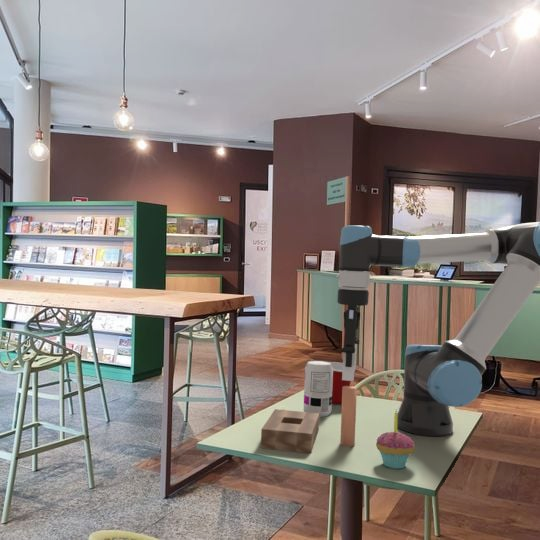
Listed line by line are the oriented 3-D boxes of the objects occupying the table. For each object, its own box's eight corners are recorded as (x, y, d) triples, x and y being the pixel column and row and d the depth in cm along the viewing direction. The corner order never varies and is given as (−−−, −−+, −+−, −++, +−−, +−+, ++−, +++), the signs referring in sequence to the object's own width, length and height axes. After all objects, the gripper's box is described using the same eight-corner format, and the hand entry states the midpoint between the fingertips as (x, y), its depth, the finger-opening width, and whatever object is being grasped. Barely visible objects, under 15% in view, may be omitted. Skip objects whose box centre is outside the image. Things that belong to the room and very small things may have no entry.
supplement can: (297, 413, 160) (299, 362, 159) (314, 408, 166) (316, 359, 166) (320, 419, 154) (322, 366, 154) (336, 413, 161) (338, 363, 160)
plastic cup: (341, 408, 166) (342, 369, 166) (313, 401, 174) (315, 364, 174) (361, 403, 174) (362, 365, 174) (334, 396, 182) (335, 360, 181)
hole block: (318, 430, 144) (319, 413, 144) (311, 453, 126) (311, 433, 126) (274, 425, 146) (274, 409, 146) (260, 447, 129) (261, 428, 128)
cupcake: (373, 456, 126) (375, 405, 125) (411, 459, 125) (413, 407, 124) (377, 470, 117) (379, 415, 117) (417, 473, 116) (419, 418, 116)
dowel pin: (354, 442, 135) (357, 386, 135) (354, 447, 132) (356, 389, 131) (340, 441, 136) (342, 385, 136) (339, 445, 132) (342, 388, 132)
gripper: (341, 286, 146) (337, 364, 146) (334, 289, 122) (329, 384, 122) (369, 287, 145) (365, 366, 145) (368, 291, 120) (363, 386, 120)
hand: (349, 374), depth 133 cm, fingers open, 13 cm apart
